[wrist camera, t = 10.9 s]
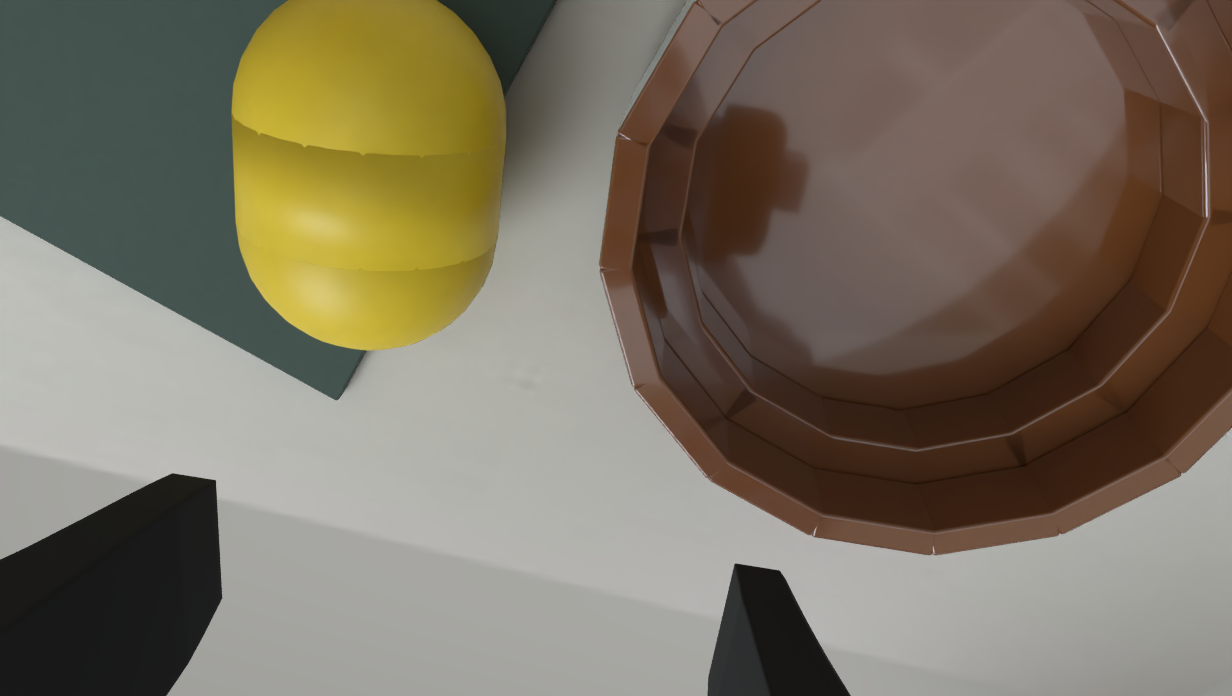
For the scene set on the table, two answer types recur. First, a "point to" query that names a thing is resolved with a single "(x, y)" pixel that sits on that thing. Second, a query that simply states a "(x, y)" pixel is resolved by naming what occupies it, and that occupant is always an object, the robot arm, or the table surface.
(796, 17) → the bowl
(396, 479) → the table surface
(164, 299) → the runner
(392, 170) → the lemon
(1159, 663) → the table surface
